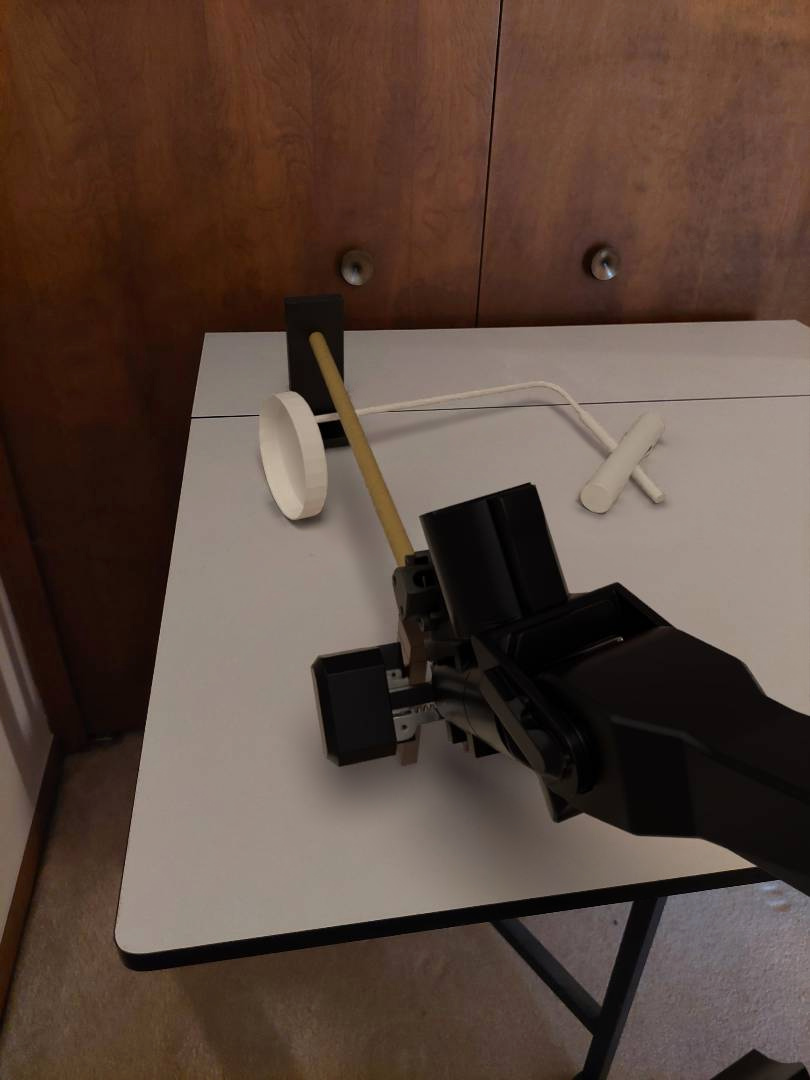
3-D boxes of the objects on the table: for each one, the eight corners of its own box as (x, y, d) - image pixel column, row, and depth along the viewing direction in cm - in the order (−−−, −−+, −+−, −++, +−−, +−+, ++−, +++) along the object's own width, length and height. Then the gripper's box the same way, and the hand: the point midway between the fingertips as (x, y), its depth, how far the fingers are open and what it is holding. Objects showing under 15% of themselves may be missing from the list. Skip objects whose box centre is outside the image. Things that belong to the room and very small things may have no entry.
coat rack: (476, 734, 63) (502, 587, 52) (377, 755, 61) (384, 608, 50) (344, 407, 97) (343, 279, 87) (278, 414, 96) (269, 284, 85)
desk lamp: (359, 531, 65) (742, 441, 85) (262, 368, 77) (616, 322, 97) (339, 623, 74) (690, 522, 93) (255, 463, 86) (580, 404, 106)
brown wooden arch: (480, 749, 59) (502, 630, 50) (401, 766, 57) (411, 647, 49) (467, 716, 61) (486, 597, 52) (391, 732, 60) (398, 612, 51)
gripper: (654, 514, 43) (541, 536, 58) (311, 567, 39) (285, 576, 54) (689, 720, 43) (566, 688, 58) (346, 797, 38) (311, 740, 53)
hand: (436, 669), depth 56 cm, fingers closed on brown wooden arch, 6 cm apart
